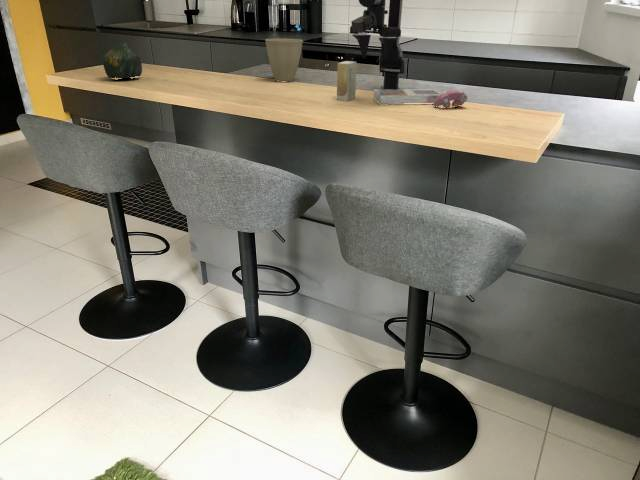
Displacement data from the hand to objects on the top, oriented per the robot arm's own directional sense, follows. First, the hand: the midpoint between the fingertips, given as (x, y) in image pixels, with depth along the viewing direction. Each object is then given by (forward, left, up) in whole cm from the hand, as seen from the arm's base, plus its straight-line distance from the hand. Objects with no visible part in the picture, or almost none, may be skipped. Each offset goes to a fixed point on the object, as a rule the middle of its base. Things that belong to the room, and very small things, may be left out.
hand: (373, 58), depth 168 cm
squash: (-47, -93, -14) cm, 105 cm away
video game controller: (+11, +24, -14) cm, 30 cm away
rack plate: (+1, +13, -14) cm, 19 cm away
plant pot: (-44, -28, -14) cm, 54 cm away
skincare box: (-3, -8, -14) cm, 16 cm away
